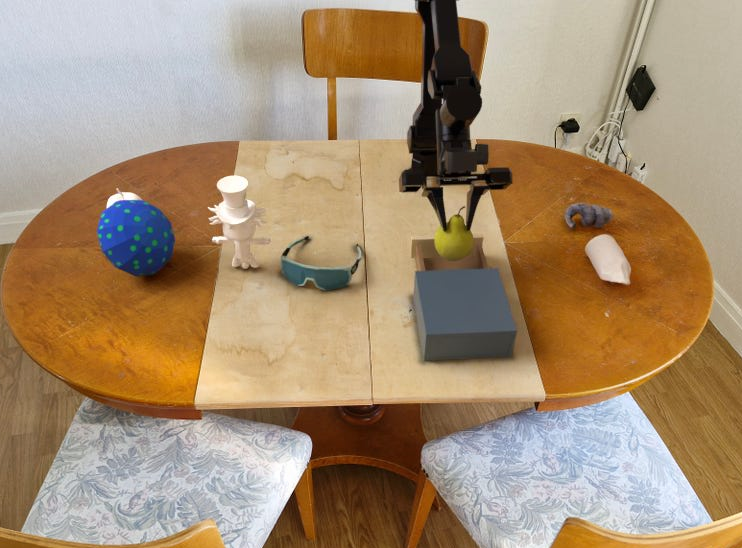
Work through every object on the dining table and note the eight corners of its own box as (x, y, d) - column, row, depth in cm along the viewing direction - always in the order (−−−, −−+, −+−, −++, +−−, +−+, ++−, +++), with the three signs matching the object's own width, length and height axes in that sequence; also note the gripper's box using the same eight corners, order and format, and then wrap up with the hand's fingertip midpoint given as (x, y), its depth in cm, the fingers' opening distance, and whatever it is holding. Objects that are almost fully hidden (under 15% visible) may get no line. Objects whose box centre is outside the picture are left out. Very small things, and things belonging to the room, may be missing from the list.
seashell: (561, 232, 140) (608, 231, 141) (571, 224, 135) (620, 224, 136) (559, 206, 140) (607, 206, 141) (569, 198, 135) (618, 197, 136)
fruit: (427, 246, 126) (434, 190, 117) (463, 242, 127) (473, 186, 118) (438, 270, 121) (446, 214, 112) (475, 266, 122) (486, 210, 114)
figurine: (213, 280, 125) (196, 196, 112) (221, 254, 131) (205, 170, 118) (271, 282, 125) (260, 198, 112) (276, 256, 131) (267, 172, 118)
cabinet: (413, 297, 124) (415, 270, 119) (493, 294, 125) (498, 267, 120) (423, 360, 113) (426, 334, 109) (511, 356, 114) (517, 330, 110)
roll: (603, 299, 124) (611, 275, 120) (581, 258, 132) (588, 234, 128) (635, 297, 125) (644, 273, 121) (611, 256, 133) (619, 232, 129)
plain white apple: (125, 210, 139) (114, 176, 134) (155, 218, 138) (146, 183, 132) (104, 230, 135) (93, 195, 129) (136, 238, 133) (125, 203, 128)
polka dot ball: (98, 198, 129) (139, 171, 119) (158, 246, 137) (202, 224, 127) (60, 254, 122) (102, 231, 112) (127, 302, 130) (170, 284, 120)
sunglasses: (272, 284, 125) (271, 260, 122) (298, 244, 136) (297, 222, 133) (347, 297, 123) (348, 273, 120) (367, 256, 134) (368, 233, 131)
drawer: (409, 250, 131) (410, 231, 128) (478, 247, 132) (481, 229, 129) (418, 305, 121) (420, 287, 118) (494, 303, 122) (497, 284, 119)
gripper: (403, 125, 109) (407, 225, 109) (520, 123, 110) (523, 222, 111) (397, 144, 120) (400, 235, 120) (502, 142, 121) (505, 231, 122)
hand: (456, 231), depth 118 cm, fingers closed on fruit, 4 cm apart
